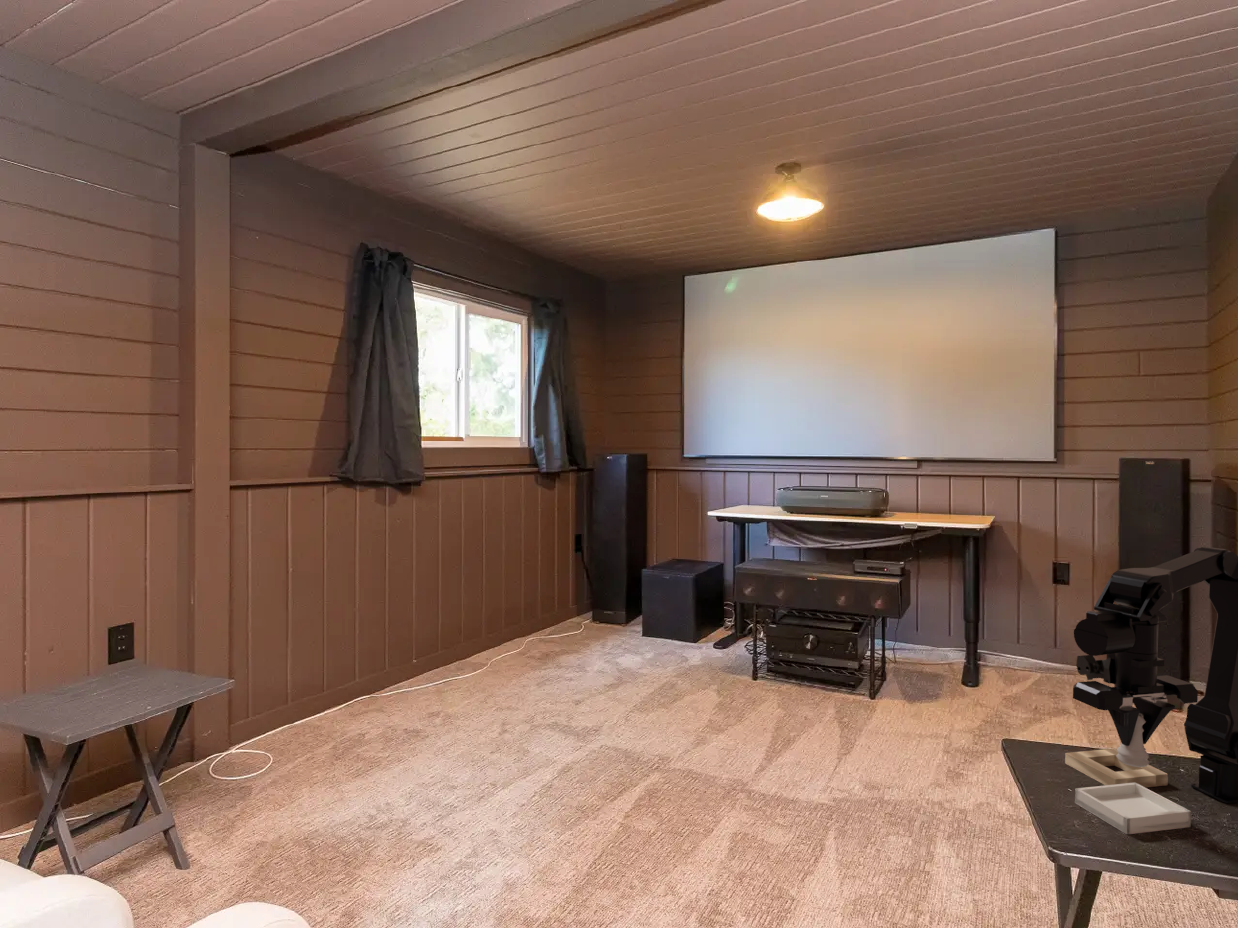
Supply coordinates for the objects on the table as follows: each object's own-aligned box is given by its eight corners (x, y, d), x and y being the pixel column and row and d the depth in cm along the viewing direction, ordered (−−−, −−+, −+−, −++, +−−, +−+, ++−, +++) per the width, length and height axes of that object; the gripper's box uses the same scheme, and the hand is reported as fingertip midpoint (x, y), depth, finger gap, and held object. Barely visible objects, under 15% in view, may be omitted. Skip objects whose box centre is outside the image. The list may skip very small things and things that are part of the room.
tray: (1134, 796, 126) (1135, 782, 126) (1190, 826, 117) (1191, 811, 116) (1074, 802, 124) (1075, 788, 124) (1126, 834, 114) (1127, 818, 114)
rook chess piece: (1154, 769, 117) (1156, 719, 117) (1123, 766, 118) (1124, 717, 118) (1141, 757, 122) (1142, 709, 122) (1111, 754, 123) (1112, 707, 122)
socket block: (1114, 758, 141) (1114, 748, 141) (1167, 784, 131) (1167, 773, 131) (1065, 763, 139) (1065, 752, 139) (1114, 790, 128) (1115, 779, 128)
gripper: (1139, 633, 129) (1137, 720, 130) (1047, 639, 125) (1046, 729, 126) (1201, 651, 118) (1199, 747, 119) (1102, 658, 114) (1100, 757, 115)
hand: (1133, 743), depth 120 cm, fingers closed on rook chess piece, 3 cm apart
